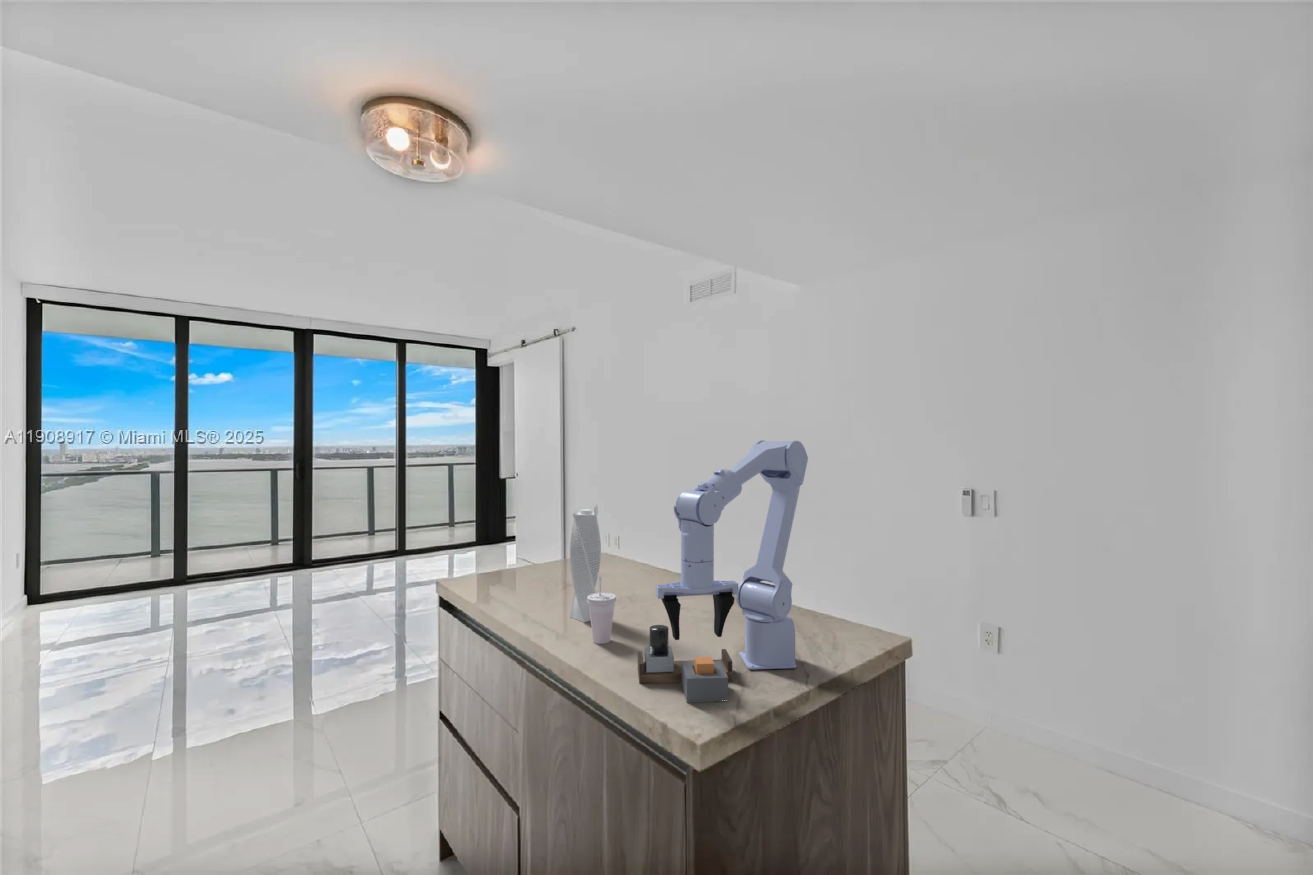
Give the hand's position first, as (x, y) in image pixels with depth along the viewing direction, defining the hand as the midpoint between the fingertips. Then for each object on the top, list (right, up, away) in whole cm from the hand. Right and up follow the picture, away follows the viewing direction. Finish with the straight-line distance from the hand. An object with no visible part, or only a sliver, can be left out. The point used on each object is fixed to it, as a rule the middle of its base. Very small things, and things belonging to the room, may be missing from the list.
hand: (697, 636), depth 100 cm
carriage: (-7, -8, +6) cm, 12 cm away
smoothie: (-19, -10, +24) cm, 32 cm away
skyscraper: (-24, -9, +40) cm, 47 cm away
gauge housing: (+1, -9, -1) cm, 10 cm away
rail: (-2, -9, +6) cm, 12 cm away
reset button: (+1, -7, -1) cm, 8 cm away
